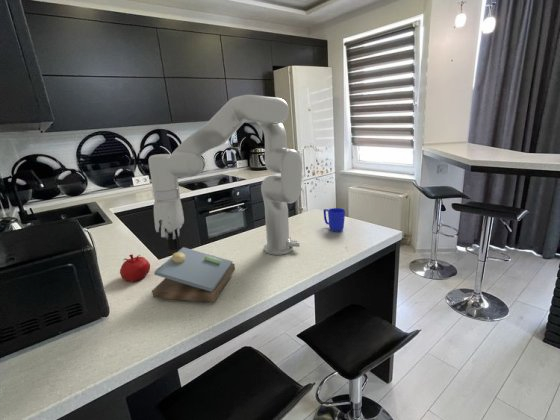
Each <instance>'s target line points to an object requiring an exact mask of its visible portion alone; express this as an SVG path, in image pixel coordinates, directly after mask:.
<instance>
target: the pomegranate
mask: <svg viewBox="0 0 560 420" xmlns="http://www.w3.org/2000/svg"><path fill="white" fill-rule="evenodd" d="M128 256H129V258H123V263H122V265H121V267H120V269H119V275H120V277H121V279H122V280H124V281H126V282H133V283H134V282H139V280H142V279H143V278H145V277H146V276H147V275H148V274H149V272H150V269H151V264H150V262H149V260H147V259H146V257H144V256H142V255H141V254H138V255H137V256H135V257H134V254H133V253H132V254H129V255H128Z"/></svg>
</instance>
